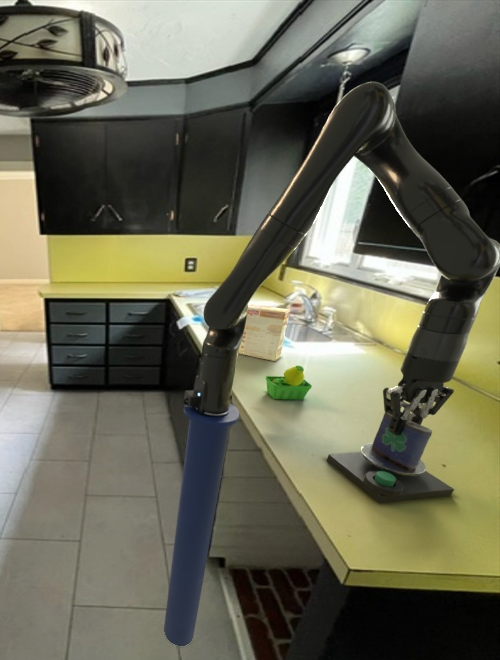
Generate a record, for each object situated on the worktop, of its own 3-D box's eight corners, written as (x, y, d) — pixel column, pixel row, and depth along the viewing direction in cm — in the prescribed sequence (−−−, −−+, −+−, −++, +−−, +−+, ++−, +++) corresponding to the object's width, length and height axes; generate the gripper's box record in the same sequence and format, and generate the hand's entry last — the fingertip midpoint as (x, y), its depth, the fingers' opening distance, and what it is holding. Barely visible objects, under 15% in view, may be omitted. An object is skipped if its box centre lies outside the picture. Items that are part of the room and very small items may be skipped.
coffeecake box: (280, 357, 146) (291, 309, 139) (275, 361, 141) (285, 312, 134) (243, 349, 155) (251, 304, 148) (237, 353, 150) (245, 306, 143)
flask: (419, 469, 73) (439, 423, 69) (407, 471, 72) (427, 424, 68) (377, 444, 81) (393, 401, 77) (366, 446, 80) (382, 403, 76)
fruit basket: (297, 391, 116) (305, 357, 112) (311, 403, 108) (321, 368, 104) (261, 390, 116) (268, 357, 112) (273, 402, 108) (281, 367, 104)
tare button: (383, 488, 69) (386, 481, 68) (370, 478, 72) (372, 471, 71) (397, 486, 69) (400, 480, 69) (383, 476, 72) (386, 470, 72)
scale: (378, 504, 69) (383, 492, 67) (324, 460, 82) (328, 448, 80) (453, 497, 71) (459, 484, 69) (389, 454, 84) (393, 443, 83)
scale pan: (391, 478, 71) (392, 475, 71) (348, 447, 81) (349, 445, 81) (439, 473, 73) (440, 471, 72) (391, 443, 83) (392, 441, 82)
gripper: (445, 345, 72) (414, 421, 79) (382, 348, 70) (356, 425, 77) (488, 358, 65) (449, 440, 72) (419, 361, 63) (387, 445, 70)
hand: (401, 432), depth 74 cm, fingers closed on flask, 3 cm apart
